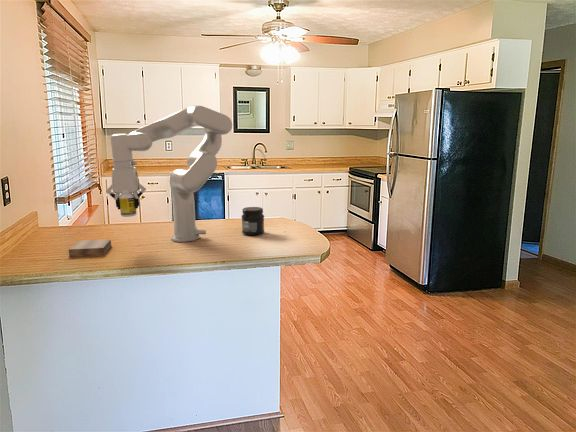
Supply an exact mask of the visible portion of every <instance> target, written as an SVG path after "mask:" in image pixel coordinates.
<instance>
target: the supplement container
mask: <svg viewBox="0 0 576 432" xmlns="http://www.w3.org/2000/svg"><path fill="white" fill-rule="evenodd" d="M263 213H264V209H263V207H259V206H249V207H248V206H247V207H244V208H242V215H241V232H242V234H243V235H244V236H247V237H257V236H261V235H263V234H264V233H265V214H263Z"/></svg>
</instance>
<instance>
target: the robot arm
mask: <svg viewBox="0 0 576 432" xmlns="http://www.w3.org/2000/svg"><path fill="white" fill-rule="evenodd" d="M194 127H202V128H203V130H204V137H203V139H202V141H201V142H200V143H199V145H198V146H197V147H196V148H195V149H194V150H193V151H192V152H191V153H190V155H189V156H188V158H187V160H186V165H187V168H188V169H187V168H177V169H174V170H173V171H172V172H171V173H170V174H169V175H170V176H169V188H170V191H171V199H172V214H173V215H172V219H173V233H174V234H173V235H171V236H170V239H171V241H173V242H179V243H187V242H194V241H197V240H199V239H200V235H207V230H206V229H198V228H197V226H196V209H195V208H196V207H195V205H196V204H195V194H194V193H196V192H197V191H199V190H200V189H201V188H202V187H203V186H204V184H206V182H207V181H208V180H209V179H210V178H211V176H213V174H214V173H215V171H216V169H217V167H218V161H217V160H218V159H217V157H216V155H218V153H219V151H220V150H221V148H222V143H223V142H222V141H223V140H222V139H223V138H222V136H223V135H228V134H229V133H230V132H231V131H232V129H233V121H232V119H231V118H230V117H229V116H228V115H226V114H224V113H221V112H218V111H216V110H213V109H211V108H208V107H205V106H203V105H191V106H187V107H185V108H182V109H180V110H178V111H176V112H174V113H172V114H170V115H167V116H165V117H163V118H161V119H158V120H156V121H154V122H151V123H149V124H146V125H144V126H142V127H139V128H138V129H136V130H133V131H131V132H130V133H128V134H127V133H114V134H112V135H110V146H111V154H112V163H113V168H112V169H111V185H109V187H108V188H107V189H106V190H105V192H106V193H107V194H108V195H109V196H110V197H111V198H113V199H114V200H115V207H116V208H117V210H120V202H119V196H120V195H121V193H122V192H123V190H127V191H128V192H129V193H132V194H133V195H134V196H135V199H134V202H135V208H136V210H137V209H138V208H139V207H140V197H141V196H142V195H143V194H144V193H145V191H147V188H146V187H145V186H143V185H142V184H141V183H140V179H139V175H138V174H139V173H138V171H137V168H136V167H135V166H137V164H138V161H134V160H133V152H146V151H149V150H150V149H151V148H152V147H153V143H154V142H156V141H159V140H164V139H171V138H173V137H175V136H177V135H180V134H181V133H184V132H186V131H188V130H190V129H192V128H194ZM139 190H140V191H139Z"/></svg>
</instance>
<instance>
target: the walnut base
mask: <svg viewBox="0 0 576 432" xmlns="http://www.w3.org/2000/svg"><path fill="white" fill-rule="evenodd" d="M111 241H112V240H111V239H93V240H92V239H88V240H78V241H76V242H75V243H74V244H73V245H72V246H71V247H69V249H68V256H69V258H71V257H89V256H90V257H91V256H92V257H93V256H94V257H95V256H105V254H107V252H108V251H109V249H110V248H111V247H112V242H111Z"/></svg>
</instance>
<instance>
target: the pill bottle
mask: <svg viewBox="0 0 576 432" xmlns="http://www.w3.org/2000/svg"><path fill="white" fill-rule="evenodd" d="M134 199H135V196H134V195H133V193H129V192H128V191H127V190H123V192H122V193H120V195H119V202H120V209H119V210H120V216H121V217H122V218H129V217H134V216H136V215H137V209H136V208H135V202H134Z"/></svg>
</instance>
